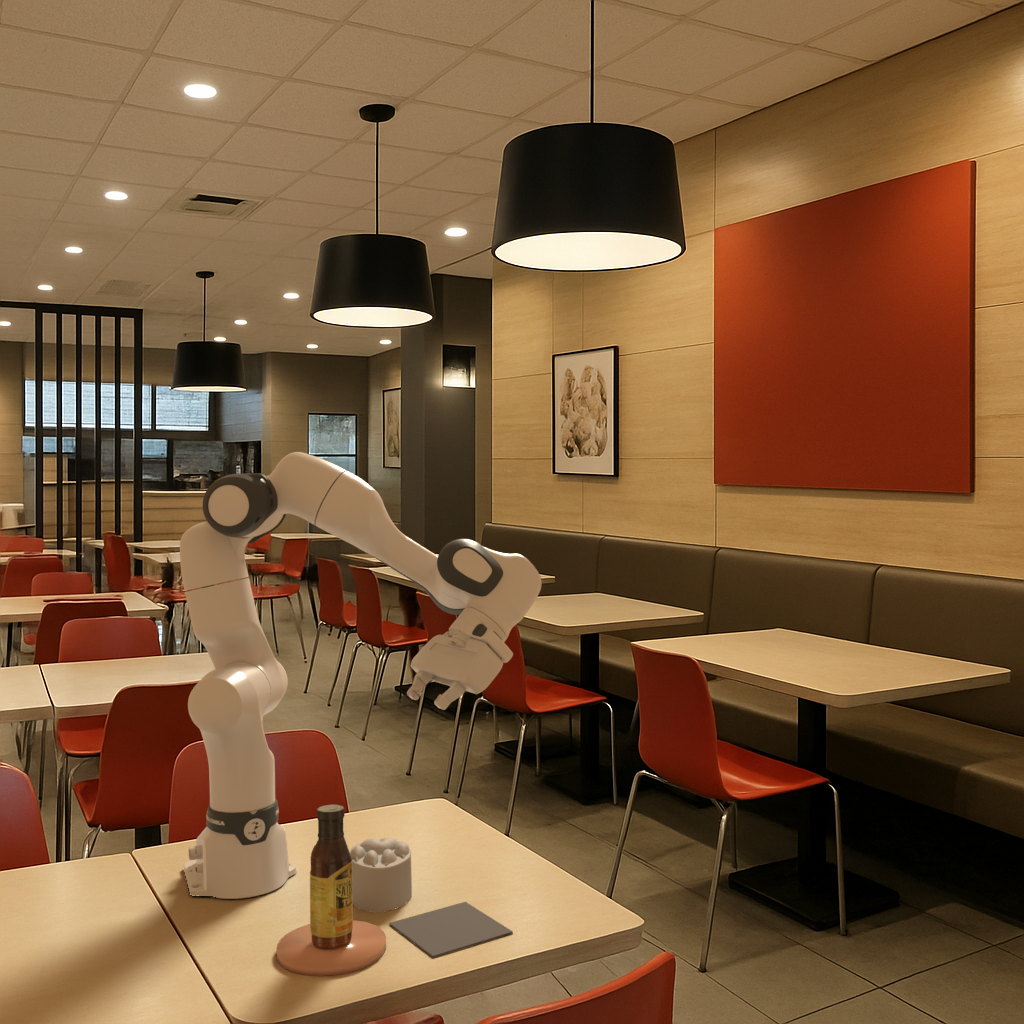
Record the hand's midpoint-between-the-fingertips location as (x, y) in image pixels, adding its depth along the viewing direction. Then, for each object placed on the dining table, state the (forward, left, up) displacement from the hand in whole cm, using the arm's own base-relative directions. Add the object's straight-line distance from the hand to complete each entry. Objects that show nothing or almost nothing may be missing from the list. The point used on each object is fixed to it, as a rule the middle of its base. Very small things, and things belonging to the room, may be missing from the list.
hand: (424, 702), depth 164 cm
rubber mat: (+10, -1, -34) cm, 35 cm away
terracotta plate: (+6, -19, -34) cm, 39 cm away
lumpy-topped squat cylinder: (-8, -4, -34) cm, 35 cm away
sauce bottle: (+5, -19, -33) cm, 38 cm away
